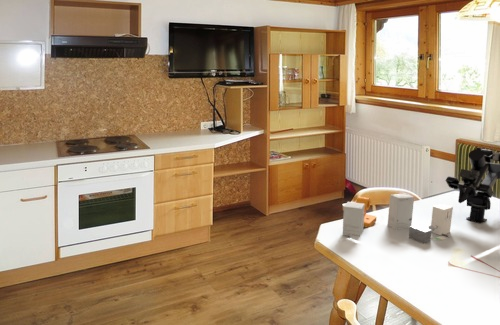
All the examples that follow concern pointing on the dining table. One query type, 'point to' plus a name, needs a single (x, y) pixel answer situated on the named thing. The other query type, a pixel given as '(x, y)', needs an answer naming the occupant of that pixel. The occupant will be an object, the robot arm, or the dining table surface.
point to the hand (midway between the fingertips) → (459, 202)
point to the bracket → (368, 219)
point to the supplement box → (353, 218)
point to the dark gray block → (420, 234)
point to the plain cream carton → (441, 219)
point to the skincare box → (400, 211)
